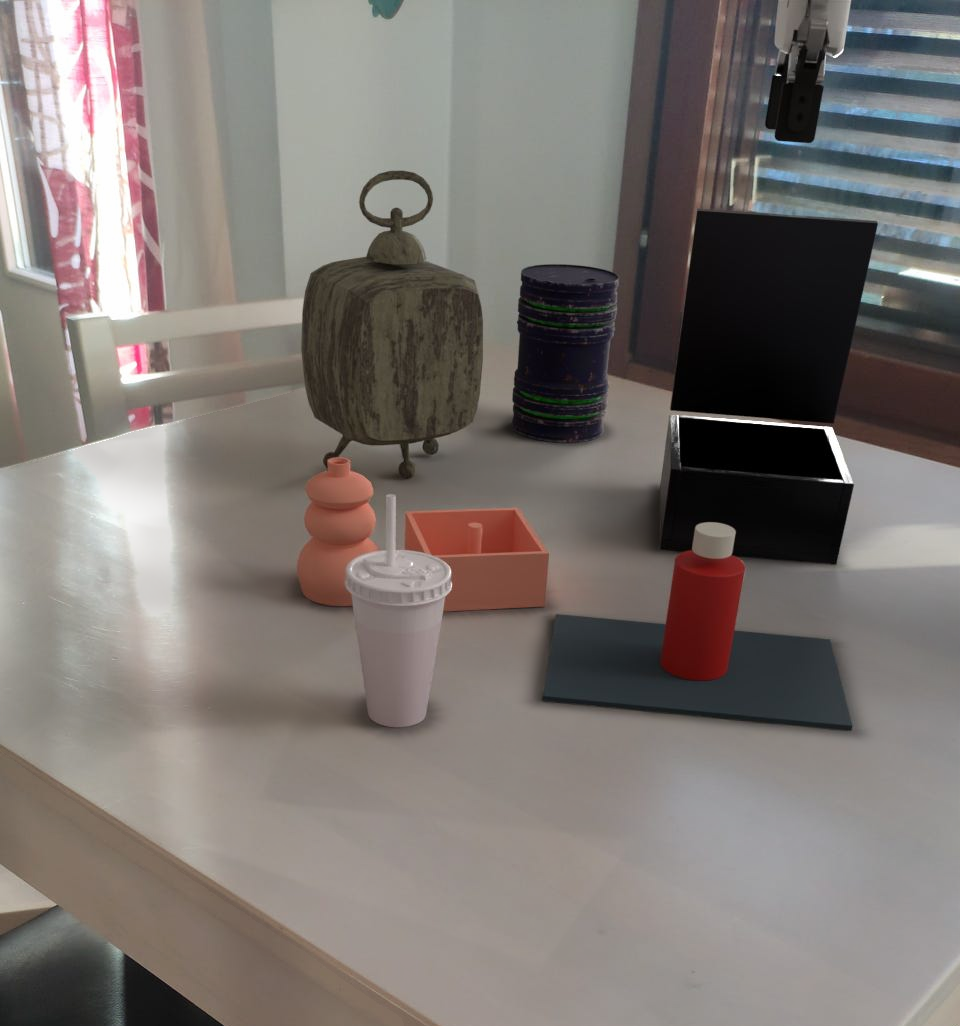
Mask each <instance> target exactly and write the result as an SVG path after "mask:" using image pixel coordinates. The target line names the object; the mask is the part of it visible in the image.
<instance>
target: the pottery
mask: <svg viewBox="0 0 960 1026" xmlns="http://www.w3.org/2000/svg"><path fill="white" fill-rule="evenodd" d="M327 463H328V468H327V470H325V471H322V472H318V473H317V474H315V475H314V476H312V477H311V478H310V479H309V480H308V481H307V483H306V486H305V490H304V491H305V494H306V496H307V498H308V499H309V501H310V503H309V504H308V506H307V508H306V509H305V512H304V516H303V522H304V527H305V530H307V533H308V534H309V536H311V538H310V539H309V540H308V541H307V542H306V543H305V544H304V546H303V547H302V549H301V550H300V552H299V554H298V558H297V562H296V574H297V577H298V581H299V582H298V583H299V585H300V588H301V592H302V594H303V596H304V597H305V598H306V599H307V600H310V601H312V602H314V603H317V604H319V605H325V606H331V607H353V603H352V595H351V593H350V592H349V591H348V590H347V589H346V586H345V580H346V566H347V565H348V563H349V562H350V561H352V560H353V559H354V558H356V557H358V556H360V555H363V554H366V553H370V552H375V551H380V550H379V548H378V546H377V545H376V543H374V542H373V541H372V540H371V539H370V538H369V537H371V536H372V534H373V532H374V530H375V529H376V521H377V517H376V514H375V511H374V509H373V507H372V506H371V505H370V503H369V502H370V500H371V498H372V497H373V495H374V488H373V485H372V482H371V481H370V480H368V478H366V477H365V476H364V475H362V474H361V473H358V472H356V471H353V470H351V460H350V459H349V458H347V457H342V456H339V457H335V458H330V459H328V461H327ZM404 515H405V516H404V550H409V551H416V552H421V553H425V554H429V555H432V556H434V557H437V558H439V559H441V560H442V561H444V562H445V563H446V564H447V565H448V566H449V567H450V569H451V572H452V573H451V582H452V589H451V591H450V592H449V593H448V594H447V596H445V601H444V608H443V612H459V611H481V610H501V609H503V610H504V609H520V608H521V609H523V608H540V607H541V608H545V606H546V596H547V585H548V571H549V558H550V552H549V551H548V549H547V548H546V547H545V545H544V544H543V542H542V541H541V539H540V538H539V536H538V535H537V533H536V532H535V529H533V527H532V526H531V525H530V523H529V521H528V520H527V518H526V517H525V515H524V514H523V513H522V511H521V510H520V507H500V508H499V507H497V508H496V507H495V508H467V509H437V510H435V509H434V510H405V512H404Z"/></svg>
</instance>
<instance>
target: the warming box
mask: <svg viewBox="0 0 960 1026" xmlns="http://www.w3.org/2000/svg"><path fill="white" fill-rule="evenodd" d="M668 415H669V416H668V423H667V431H666V436H665V437H666V438H665V444H664V445H665V446H664V453H663V462H662V469H661V476H660V484H659V549H660V550H665V551H676V552H677V551H678V552H685V551H690V550H692V546H693V539H694V532H695V527H696V526H697V525H698V524H700V523H706V522H715V523H722V524H725V525H728V526H731V527H732V528H734V529H735V531H736V533H735V539H734V545H733V551H732V555H733V556H735V557H744V558H755V559H766V560H777V561H778V560H779V561H790V562H799V563H800V562H801V563H811V564H823V565H837V564H838V559H839V555H840V551H841V550H840V549H841V546H842V541H843V537H844V531H845V528H846V523H847V518H848V514H849V510H850V505H851V500H852V497H853V493H854V487H855V483H854V480H853V478H852V475H851V472H850V470H849V467H848V465H847V462H846V460H845V457H844V454H843V452H842V449H841V446H840V445H839V441H838V439H837V436H836V433H835V431H834V429H833V427H831V426H817V425H805V424H792V423H782V422H781V423H780V422H769V421H768V422H766V421H755V420H743V419H731V418H720V417H706V416H694V415H693V416H692V415H684V414H682V415H681V414H679V415H678V414H671V413H670V414H668Z"/></svg>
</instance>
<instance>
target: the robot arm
mask: <svg viewBox="0 0 960 1026" xmlns="http://www.w3.org/2000/svg"><path fill="white" fill-rule="evenodd" d="M851 5H852V0H778V2H777V9H776V20H775V28H774V29H775V30H774V40H773V41H774V42H773V43H774V45H775V47H776V48H777V49H778V52H777V57H776V58H777V59H776V61H775V68H774V74H772V76H771V82H770V90H769V93H768V94H769V96H768V101H767V108H766V114H765V121H764V126H765V128H766V129H768V130H774V139H775V140H776V141H778V142H785V143H799V144H800V143H801V144H811V143H813V142H814V141H815V139H816V134H817V127H818V121H819V117H820V111H821V104H822V98H823V92H824V88H825V86H824V85H823V84H824V79H825V73H826V61H827V56H829V57H831V58H837V57H838V56H840V55H841V54H842V53H843V51H844V48H845V44H846V37H847V31H848V24H849V17H850V10H851Z"/></svg>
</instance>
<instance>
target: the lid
mask: <svg viewBox="0 0 960 1026" xmlns="http://www.w3.org/2000/svg"><path fill="white" fill-rule="evenodd" d="M878 225H879V223H878V221H877V220H871V219H870V220H869V219H855V218H840V217H825V216H812V215H800V214H799V215H797V214H784V213H771V212H770V213H769V212H755V211H743V210H742V211H741V210H725V209H711V208H696V214H695V221H694V227H693V228H694V229H693V236H692V243H691V251H690V258H689V265H688V273H687V279H686V287H685V295H684V302H683V308H682V309H683V310H682V318H681V325H680V333H679V339H678V347H677V354H676V362H675V367H674V368H675V369H674V376H673V385H672V391H671V399H670V405H669V410H670V411H671V412H683V413H684V412H685V413H696V414H697V413H698V414H710V415H722V416H735V417H745V418H746V417H748V418H757V419H758V418H759V419H770V420H782V421H784V420H785V421H797V422H807V423H819V424H820V423H821V424H833V425H834V424H835V419H836V416H837V411H838V408H839V407H838V406H839V402H840V398H841V393H842V389H843V384H844V380H845V375H846V370H847V365H848V361H849V357H850V353H851V349H852V343H853V338H854V334H855V331H856V325H857V321H858V316H859V312H860V307H861V302H862V298H863V294H864V288H865V284H866V279H867V276H868V271H869V267H870V262H871V257H872V252H873V248H874V243H875V239H876V235H877V230H878Z"/></svg>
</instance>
